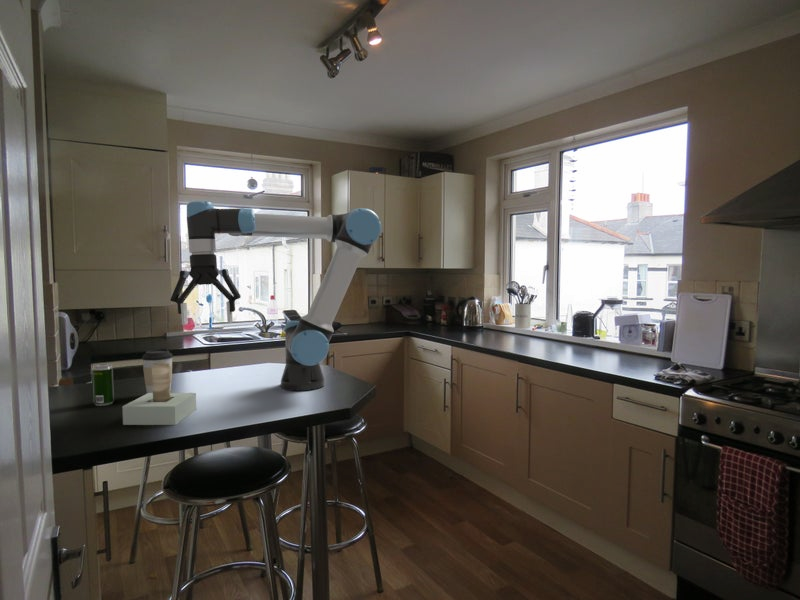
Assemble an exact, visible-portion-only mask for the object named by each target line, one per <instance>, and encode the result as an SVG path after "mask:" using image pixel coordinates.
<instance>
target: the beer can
mask: <svg viewBox="0 0 800 600" xmlns="http://www.w3.org/2000/svg"><path fill="white" fill-rule="evenodd" d="M112 365H113V364H112V363H99V364H94V365H92V369H91V373H92V393H93V394H92V395H93V405H94V406H96V407H104V406H110V405H112V404H114V401H115V392H114V367H113V366H112Z"/></svg>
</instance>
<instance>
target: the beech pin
mask: <svg viewBox="0 0 800 600" xmlns="http://www.w3.org/2000/svg"><path fill="white" fill-rule="evenodd" d="M152 384H153V402H167V401H169V400H170V393H171V392H170V371H169V363H155V364H152Z"/></svg>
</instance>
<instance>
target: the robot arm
mask: <svg viewBox="0 0 800 600" xmlns="http://www.w3.org/2000/svg"><path fill="white" fill-rule="evenodd" d="M381 222H382V221H381V220H380V218H379V216H378V214H377V213H375V212H374V211H373V210H371V209H370V208H365V207H364V208H363V207H359V208H357V207H356V208H355V209H352V210H351V211H348V212H346V213H341V214H328V215H327V216H324V217H323V216H309V215H307V216H306V215H289V214H288V215H287V214H273V213H272V214H269V213H267V214H266V213H255V211H254V210H253V209H252V208H244V207H241V208H216V207H214V204H213V202H211V201H204V200H198V201H197V200H196V201H195V200H194V201H190V202H188V203H187V204H186V225H187V226H186V227H187V238H188V252H189V254H190V255H189V266H190V270H180V271H179V278H178V280H177V283H176V285H175V287H174V290H173V293H172V295H171V297H170V301H171V302H174V303H176V304H177V313H178V314H179V315H180V316H181V325H182V326H187V325H188V324H189V321H188V320H189V319H188V306H187V302H185V300H186V299H188V297H189V295H190V294H191V293H192V291H193V290H194V289H195V288H196V287H197V285H198V286H201V285H206V286H207V285H208V286H209V285H213V286H214V287H215V288H216V289H217V290H218V291H219V292H220V293H221V294H222V295H223V296H224V297H225V298H226V300H227V301H226V303H225V304H226V305H225V306H226V317H227V324H232V323H233V319H234V318H233V312H236V302H235V301H237V300H239V299H241V298H242V297H241V294H240V292H239V291H238V288H237V287H236V286H235V284H234V282H233V280H232V279H231V277H230V273H229V270H228V269H227V268H222V269H220V270H219V269H218V263H217V262H218V261H217V254H215V253H216V252H217V249H216V235H217V234H219V235H220V234H228V235H229V236H232V237H239V236H243V237H245V236H246V237H267V238H268V237H269V238H270V237H271V238H290V239H291V238H293V239H295V238H296V239H317V240H319V239H320V240H323V239H324V240H326V241H327V242H328V243H335V244H336V249H335V251H334V254H333V256H332V258H331V260H330V262H329V265H328V267H327V269H326V271H325V274H324V276H323V278H322V281H321V282H320V285H319V288H318V290H317V291H316V294H315V296H314V298H313V301H312V303H311V305H310V308H309V310H308V311H307V314H305V315H303V316H300V318H299V320H295V321H294V320H293V321H292V320H291V321H287V322H286V323H285V325H284V332H285V333H284V335H285V341H284V342H285V343H284V344H285V366H284V369H283V373H282V376H281V379H280V387H281V389H284V390H286V389H287V391H295V390H297V391H299V392H300V391H303V392H304V391H312V390H311V389H313V390H318V389H320V387H321V388H322V386H323V387H325V385H324V384H325V383H326V382H325V381H326V380H325V376H324V373H323V370H322V367H321V364H320V363H322V362H323V361H324V360H325V359H326V357H327V356H328V353H329V349H330V341H331V339H332V336H333V334H334V332H335V330H334V327H333V323H334V321H335V319H336V315H337V314H338V311H339V310H340V306H341V305H342V302H343V300H344V298H345V295H346V293H347V291H348V289H349V287H350V284H351V282H352V280H353V277H354V275H355V273H356V270H357V268H358V266H359V263H360V262H361V259H362V258H364V257H367V256H368V255H369V253H370V250H371V248H372V246H373V244H374V243H375V242H376V241H377V240H378V239H379V237H380V235H381V233H382V223H381ZM219 275H220V277H222V279H223V280H224V282H225V283H226V284H225V285H227V287H228V289H229V290H228V289H227V288H226V287H225V286H224V285H223V283H221V281H219V279H218V278H217V277H218V276H219ZM189 276H190V278H191V279H192V280H191V281H190V282H189V284H188V285H187V286H186V288H185V289H184V291H183V292H182V290H183V287H184V285H185V283H186V280H187V279H188V277H189ZM181 292H182V293H181ZM317 388H318V389H317ZM297 391H296V392H297Z"/></svg>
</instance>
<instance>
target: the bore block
mask: <svg viewBox="0 0 800 600" xmlns="http://www.w3.org/2000/svg"><path fill="white" fill-rule="evenodd" d="M121 407H122V425H123V426H127V425H128V426H131V425H132V426H133V425H134V426H135V425H136V426H141V425H142V426H155V425H156V426H163V425H164V426H170V425H171V426H176V425H178V423H180V422H181V421H183V420H184V419H186V418H187V417H188V416H190V415H191V414H192V413H193V412H195V411H197V392H170V400H169V401H167V402H153V393H147V392H146V394H144V395H142V396H140V397H138V398H136V399H135V400H132V401H130V402H128V403H126V404H124V405H123V406H121Z"/></svg>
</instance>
